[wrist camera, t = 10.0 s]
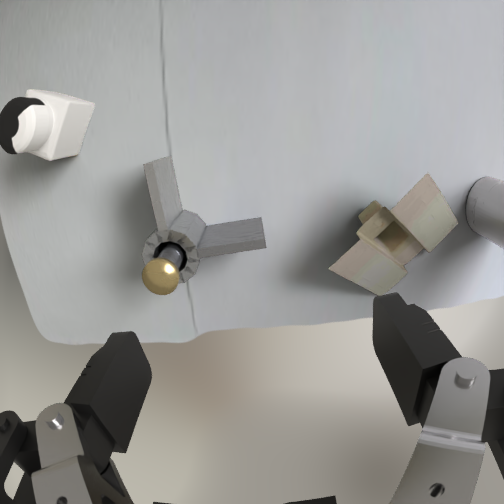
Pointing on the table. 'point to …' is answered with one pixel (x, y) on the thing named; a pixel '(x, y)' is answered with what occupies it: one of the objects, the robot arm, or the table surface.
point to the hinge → (191, 224)
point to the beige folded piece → (396, 237)
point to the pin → (164, 269)
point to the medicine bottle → (45, 124)
